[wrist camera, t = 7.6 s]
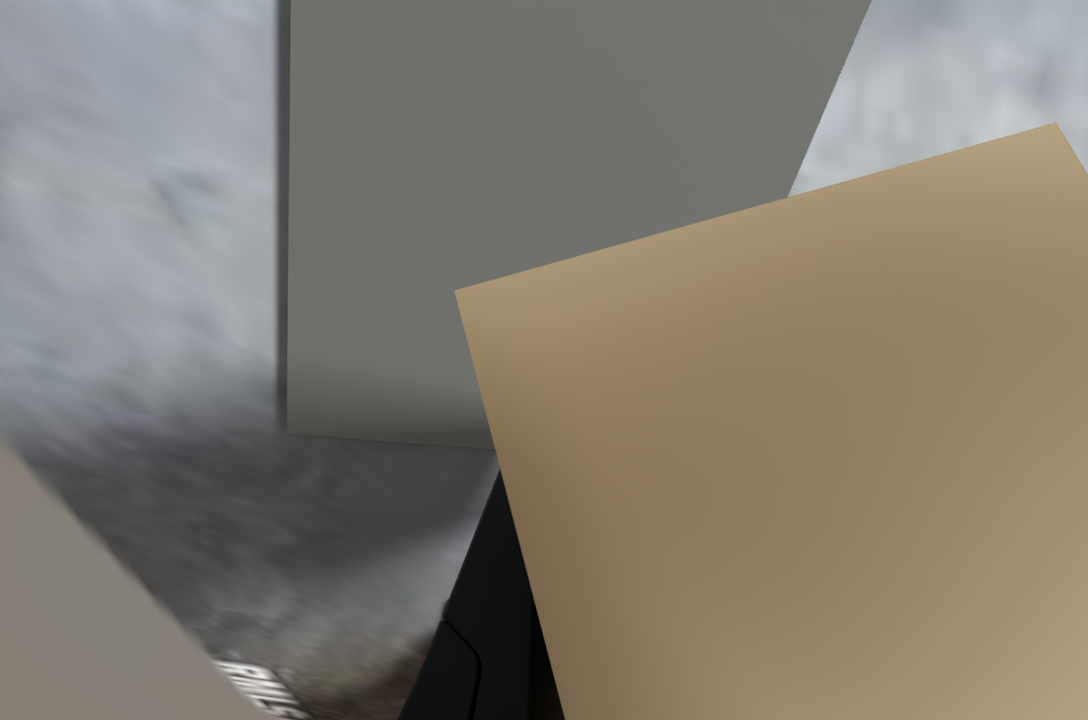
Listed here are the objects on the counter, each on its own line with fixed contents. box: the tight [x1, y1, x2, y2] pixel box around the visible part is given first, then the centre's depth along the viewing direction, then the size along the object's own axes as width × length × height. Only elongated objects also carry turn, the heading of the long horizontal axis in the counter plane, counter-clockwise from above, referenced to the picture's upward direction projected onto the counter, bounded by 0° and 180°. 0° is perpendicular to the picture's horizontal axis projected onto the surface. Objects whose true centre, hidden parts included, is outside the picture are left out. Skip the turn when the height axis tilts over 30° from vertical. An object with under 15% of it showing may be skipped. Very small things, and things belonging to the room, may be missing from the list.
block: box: [454, 123, 1088, 720], centre depth 9 cm, size 4×4×12 cm
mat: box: [286, 0, 871, 450], centre depth 17 cm, size 18×15×1 cm
